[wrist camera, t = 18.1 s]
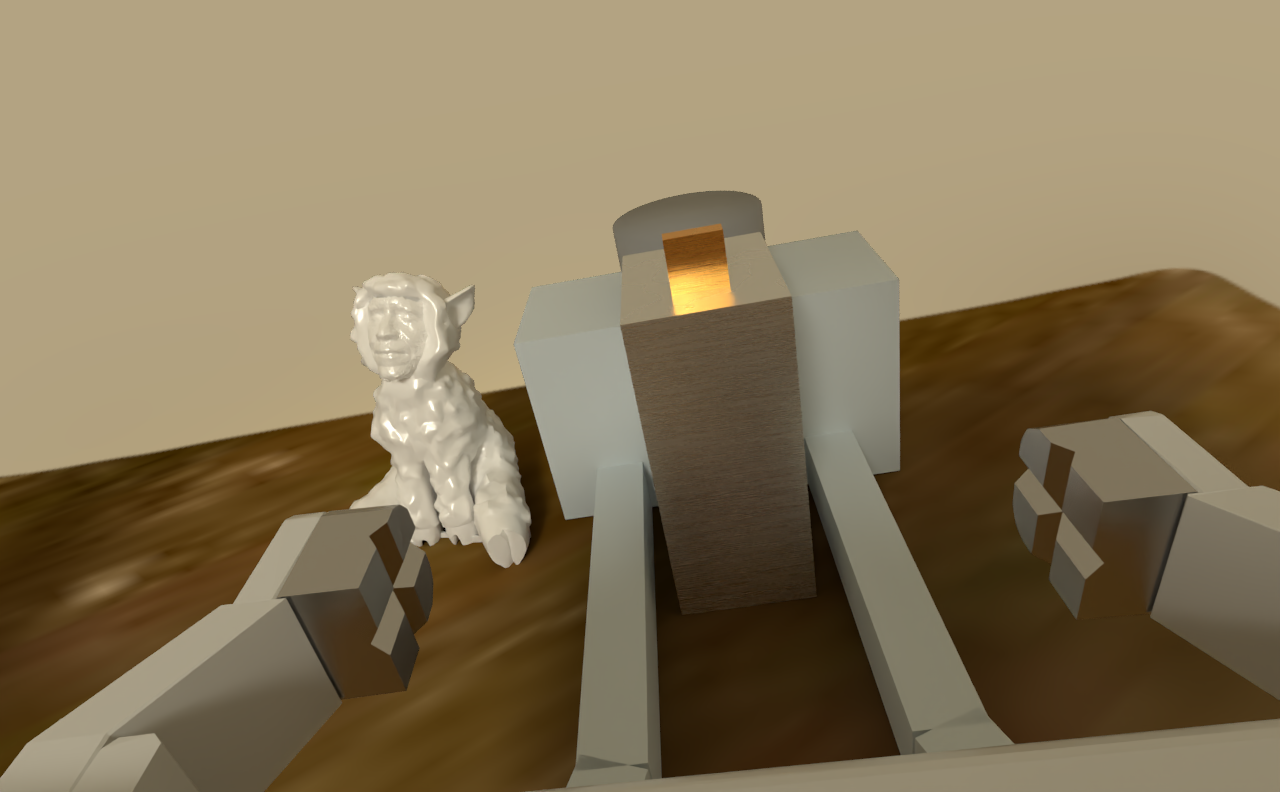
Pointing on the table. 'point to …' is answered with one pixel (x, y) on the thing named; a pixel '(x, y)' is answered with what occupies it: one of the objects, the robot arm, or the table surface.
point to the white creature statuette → (436, 420)
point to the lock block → (721, 416)
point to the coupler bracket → (835, 466)
